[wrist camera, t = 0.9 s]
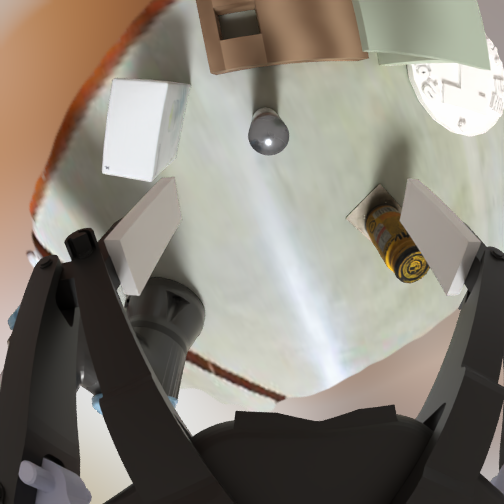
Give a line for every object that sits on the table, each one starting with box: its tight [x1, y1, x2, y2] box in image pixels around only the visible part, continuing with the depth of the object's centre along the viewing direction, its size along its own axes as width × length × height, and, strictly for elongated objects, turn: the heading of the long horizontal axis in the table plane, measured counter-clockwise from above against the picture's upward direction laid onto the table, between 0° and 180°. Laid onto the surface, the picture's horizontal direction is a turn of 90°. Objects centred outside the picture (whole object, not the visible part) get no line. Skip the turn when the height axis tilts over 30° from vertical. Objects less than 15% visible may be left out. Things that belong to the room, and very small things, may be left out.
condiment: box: [346, 184, 430, 283], centre depth 34 cm, size 7×8×12 cm
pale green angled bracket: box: [352, 0, 491, 70], centre depth 16 cm, size 11×14×19 cm
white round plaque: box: [407, 34, 504, 137], centre depth 25 cm, size 20×20×3 cm
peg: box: [248, 107, 289, 155], centre depth 27 cm, size 3×3×14 cm
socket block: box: [196, 0, 369, 75], centre depth 24 cm, size 18×12×4 cm, turn 100°
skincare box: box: [102, 78, 191, 182], centre depth 28 cm, size 10×6×10 cm, turn 166°
